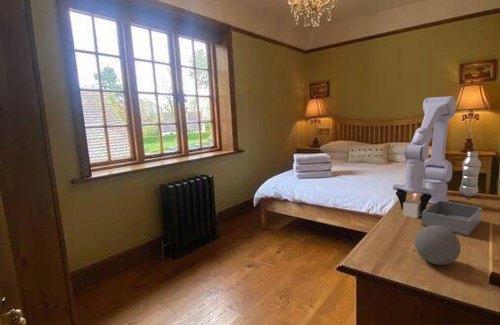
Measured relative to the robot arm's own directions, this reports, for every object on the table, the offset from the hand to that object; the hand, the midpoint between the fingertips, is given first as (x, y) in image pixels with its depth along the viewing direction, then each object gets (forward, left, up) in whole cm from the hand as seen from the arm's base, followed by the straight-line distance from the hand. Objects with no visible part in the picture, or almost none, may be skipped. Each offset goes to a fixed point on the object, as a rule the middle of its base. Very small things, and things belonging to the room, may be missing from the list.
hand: (412, 211), depth 109 cm
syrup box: (-36, -5, -2) cm, 36 cm away
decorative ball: (+32, +17, -2) cm, 36 cm away
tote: (0, +12, -1) cm, 13 cm away
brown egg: (-7, 0, -1) cm, 7 cm away
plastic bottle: (-40, +9, -2) cm, 41 cm away
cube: (0, 0, -2) cm, 2 cm away
